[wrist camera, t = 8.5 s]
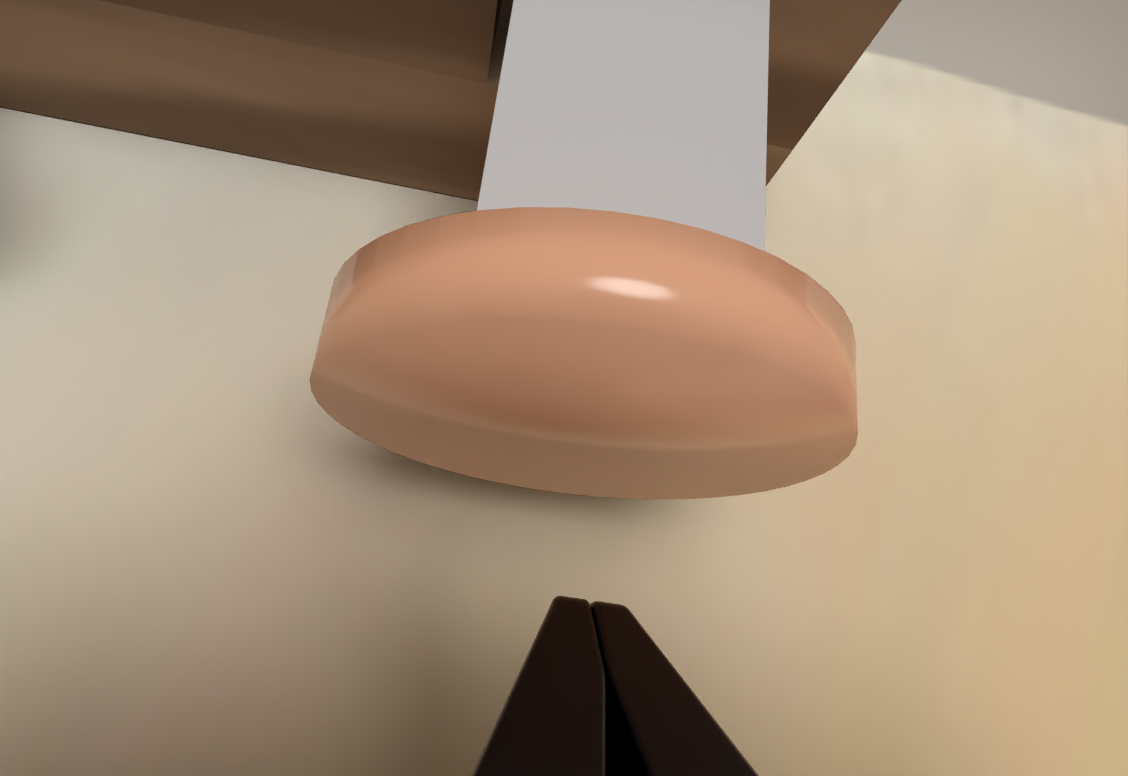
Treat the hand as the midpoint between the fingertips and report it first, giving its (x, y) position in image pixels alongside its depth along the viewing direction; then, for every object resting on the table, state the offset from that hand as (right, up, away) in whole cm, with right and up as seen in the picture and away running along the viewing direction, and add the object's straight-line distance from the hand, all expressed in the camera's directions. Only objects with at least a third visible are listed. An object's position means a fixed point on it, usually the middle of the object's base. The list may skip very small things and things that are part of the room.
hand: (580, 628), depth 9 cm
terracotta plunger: (0, +5, +6) cm, 8 cm away
